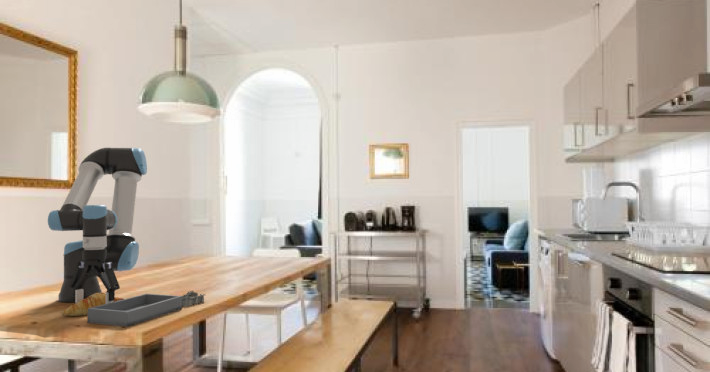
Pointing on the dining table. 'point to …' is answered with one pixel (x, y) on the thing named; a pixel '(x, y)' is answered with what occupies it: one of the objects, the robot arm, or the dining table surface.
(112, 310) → the grey rectangular open tray
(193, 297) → the egg carton
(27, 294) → the dining table surface
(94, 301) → the croissant
